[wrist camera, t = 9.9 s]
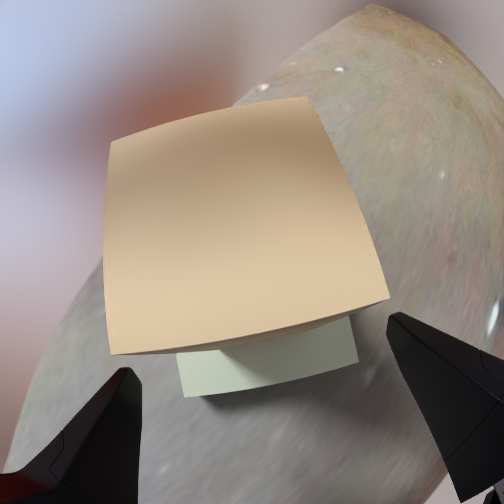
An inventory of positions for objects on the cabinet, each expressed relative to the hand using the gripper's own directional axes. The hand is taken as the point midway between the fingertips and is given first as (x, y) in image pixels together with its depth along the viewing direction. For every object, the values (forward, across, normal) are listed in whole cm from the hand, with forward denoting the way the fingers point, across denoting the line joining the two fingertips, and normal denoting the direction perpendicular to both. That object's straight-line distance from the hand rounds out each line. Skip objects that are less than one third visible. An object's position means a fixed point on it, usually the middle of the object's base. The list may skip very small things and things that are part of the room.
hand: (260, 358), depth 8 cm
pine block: (+8, 0, +3) cm, 9 cm away
